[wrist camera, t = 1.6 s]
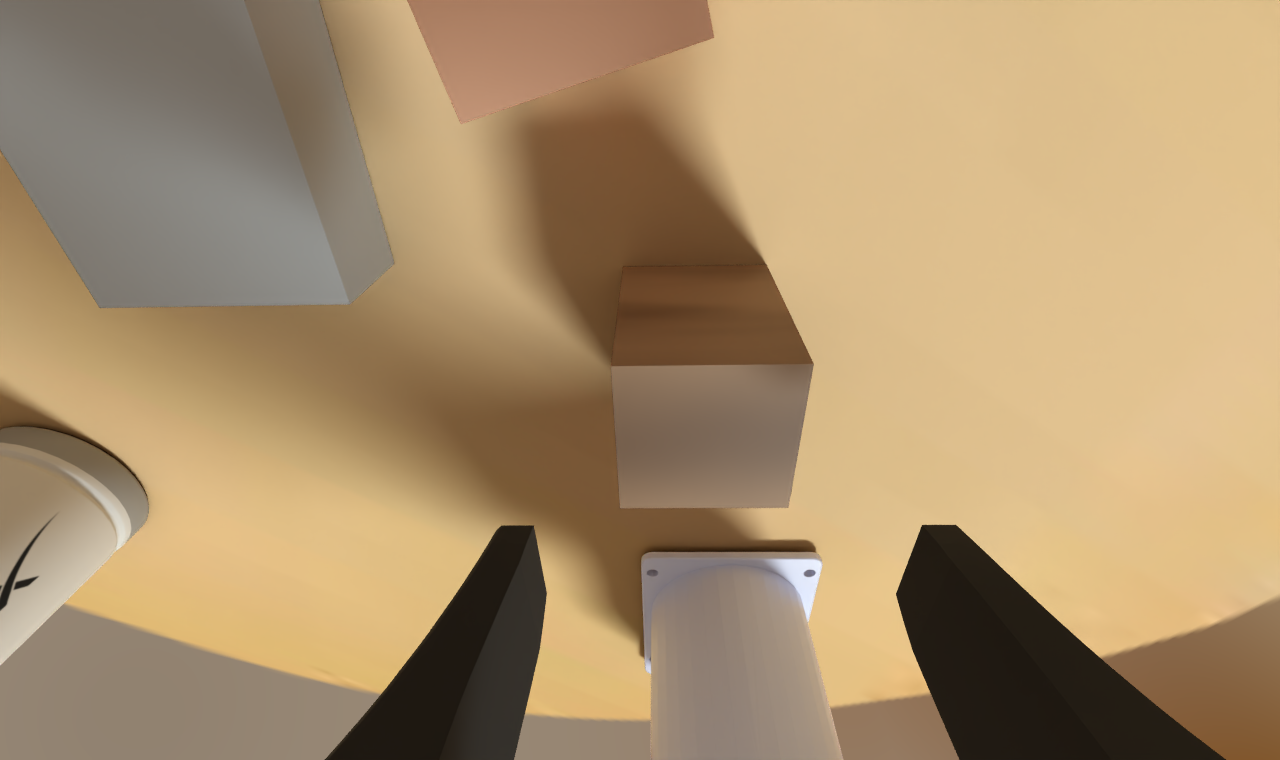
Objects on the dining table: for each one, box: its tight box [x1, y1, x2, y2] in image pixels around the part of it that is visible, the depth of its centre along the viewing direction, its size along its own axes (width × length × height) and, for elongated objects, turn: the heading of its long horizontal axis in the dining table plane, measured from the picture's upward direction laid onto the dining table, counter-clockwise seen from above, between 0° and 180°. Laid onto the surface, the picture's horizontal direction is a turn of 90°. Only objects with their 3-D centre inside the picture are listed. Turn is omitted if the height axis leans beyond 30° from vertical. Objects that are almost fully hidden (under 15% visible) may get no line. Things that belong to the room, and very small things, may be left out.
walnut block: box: [611, 264, 814, 508], centre depth 16 cm, size 4×4×6 cm
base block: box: [0, 0, 394, 308], centre depth 14 cm, size 7×7×3 cm
